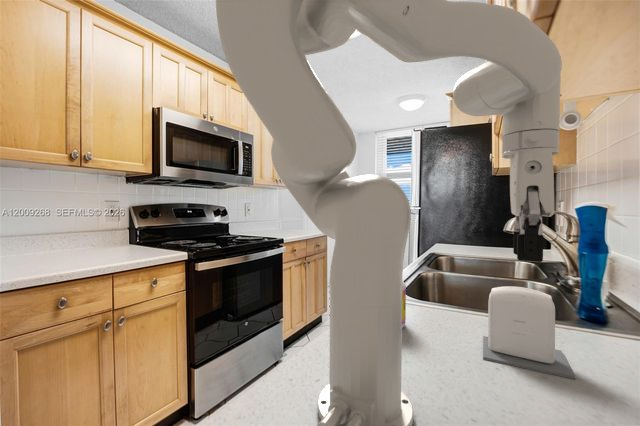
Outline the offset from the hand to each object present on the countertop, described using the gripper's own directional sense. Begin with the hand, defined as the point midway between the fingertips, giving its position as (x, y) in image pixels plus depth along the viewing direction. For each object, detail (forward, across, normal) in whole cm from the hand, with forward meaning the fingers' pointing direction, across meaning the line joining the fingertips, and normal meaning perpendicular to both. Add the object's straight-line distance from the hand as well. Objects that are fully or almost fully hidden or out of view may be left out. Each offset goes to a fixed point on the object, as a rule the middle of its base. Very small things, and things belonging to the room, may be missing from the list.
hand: (526, 256), depth 49 cm
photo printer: (+19, +7, 0) cm, 21 cm away
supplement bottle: (+20, +10, +25) cm, 33 cm away
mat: (+19, +8, 0) cm, 21 cm away
